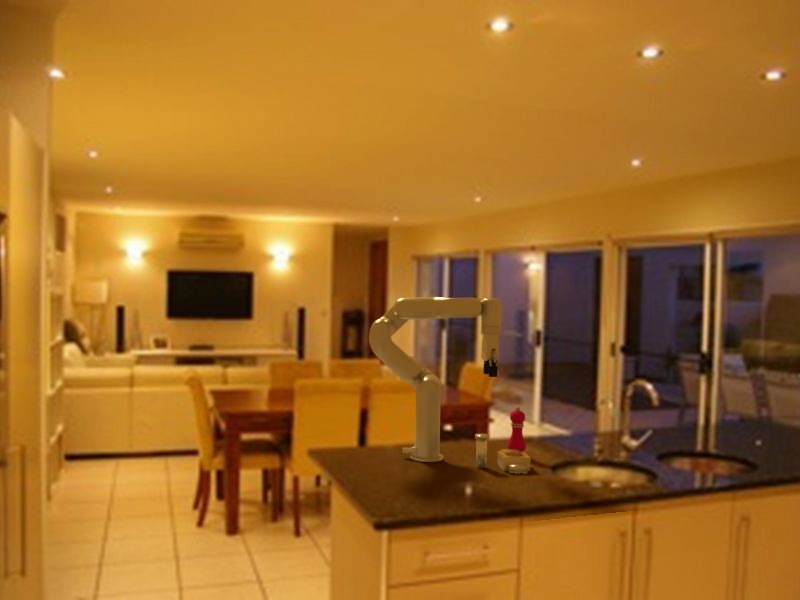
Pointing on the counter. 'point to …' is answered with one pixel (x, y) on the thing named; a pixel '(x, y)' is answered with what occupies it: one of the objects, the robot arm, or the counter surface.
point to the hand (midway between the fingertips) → (490, 375)
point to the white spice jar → (481, 450)
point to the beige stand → (514, 461)
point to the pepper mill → (517, 431)
